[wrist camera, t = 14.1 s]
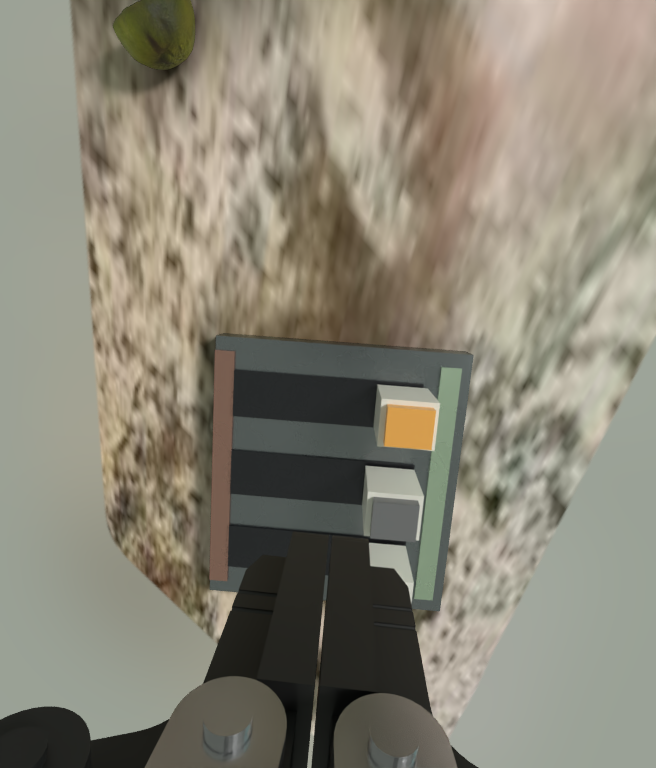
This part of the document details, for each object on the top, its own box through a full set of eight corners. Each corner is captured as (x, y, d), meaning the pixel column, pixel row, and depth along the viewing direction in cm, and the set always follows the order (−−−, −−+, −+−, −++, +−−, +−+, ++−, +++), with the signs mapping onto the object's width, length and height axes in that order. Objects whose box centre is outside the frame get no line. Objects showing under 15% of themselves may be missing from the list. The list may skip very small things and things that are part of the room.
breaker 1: (365, 465, 33) (368, 497, 28) (414, 469, 33) (426, 502, 28) (361, 504, 34) (364, 542, 29) (409, 508, 34) (420, 547, 29)
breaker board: (223, 333, 35) (215, 335, 32) (466, 351, 34) (474, 355, 32) (216, 574, 38) (209, 591, 36) (435, 594, 38) (440, 613, 36)
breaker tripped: (377, 384, 32) (382, 401, 27) (427, 388, 32) (442, 406, 27) (373, 425, 33) (378, 450, 28) (423, 429, 33) (436, 455, 28)
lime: (127, 59, 31) (85, 15, 27) (162, -9, 31) (127, -67, 26) (182, 99, 32) (151, 63, 27) (219, 32, 31) (194, -17, 26)
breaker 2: (358, 541, 35) (360, 585, 29) (405, 545, 34) (415, 590, 29) (355, 577, 35) (356, 627, 30) (401, 582, 35) (410, 632, 30)
